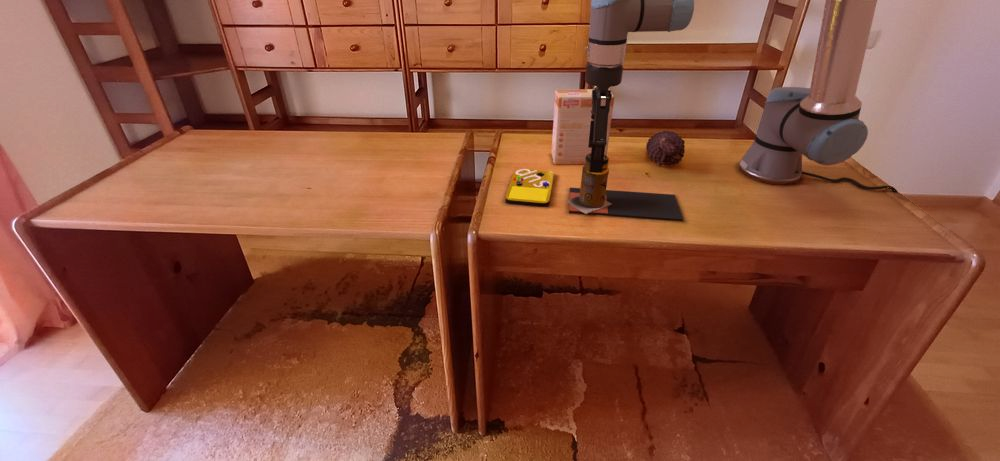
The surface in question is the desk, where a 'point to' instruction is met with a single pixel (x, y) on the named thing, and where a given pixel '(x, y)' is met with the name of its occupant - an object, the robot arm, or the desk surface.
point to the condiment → (592, 188)
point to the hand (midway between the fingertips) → (594, 159)
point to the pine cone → (666, 148)
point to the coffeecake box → (574, 126)
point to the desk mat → (635, 205)
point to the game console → (530, 188)
